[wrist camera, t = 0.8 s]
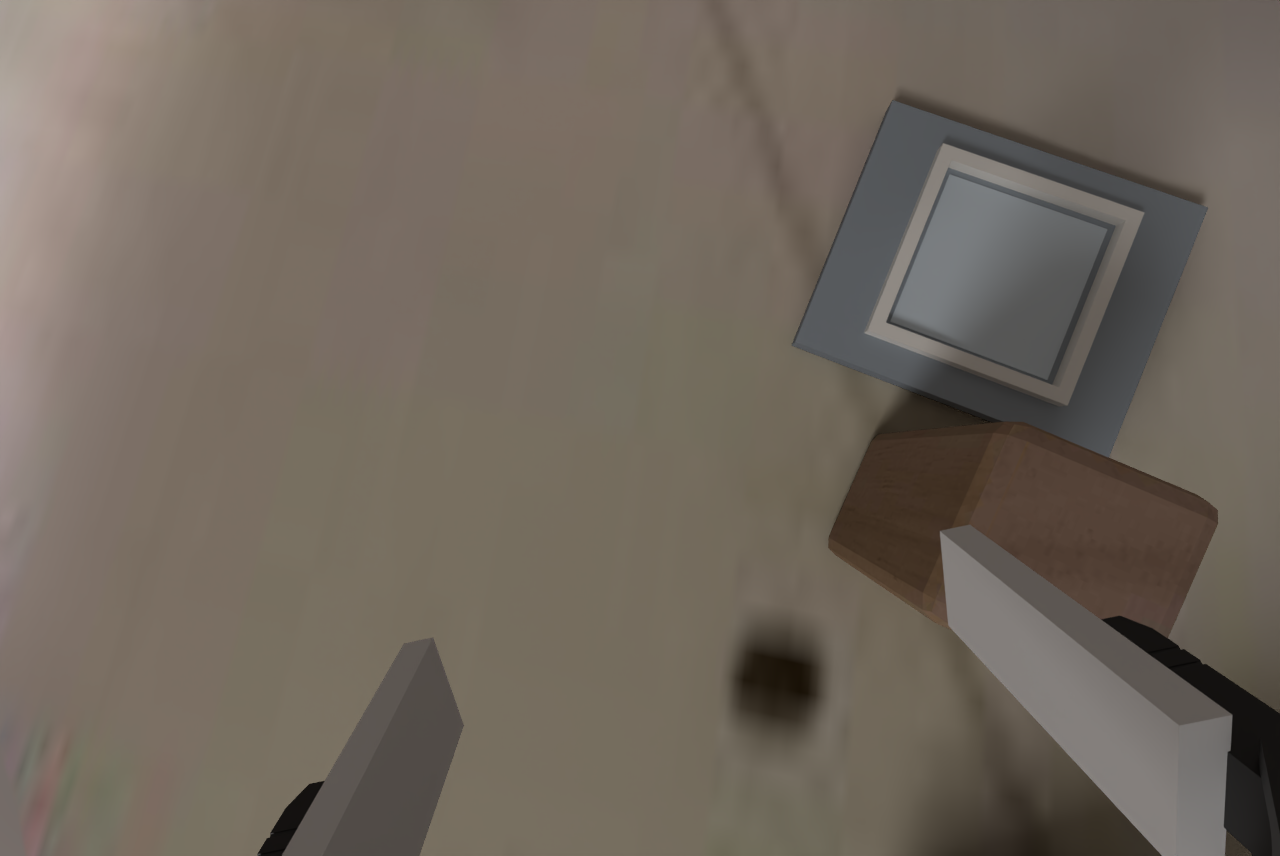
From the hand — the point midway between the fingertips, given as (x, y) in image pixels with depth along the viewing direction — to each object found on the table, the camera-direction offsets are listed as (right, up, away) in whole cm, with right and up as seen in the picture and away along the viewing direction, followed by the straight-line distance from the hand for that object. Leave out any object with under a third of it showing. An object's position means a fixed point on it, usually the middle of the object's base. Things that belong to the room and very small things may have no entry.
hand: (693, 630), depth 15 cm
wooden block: (+19, -2, +31) cm, 36 cm away
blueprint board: (+25, +16, +31) cm, 43 cm away
